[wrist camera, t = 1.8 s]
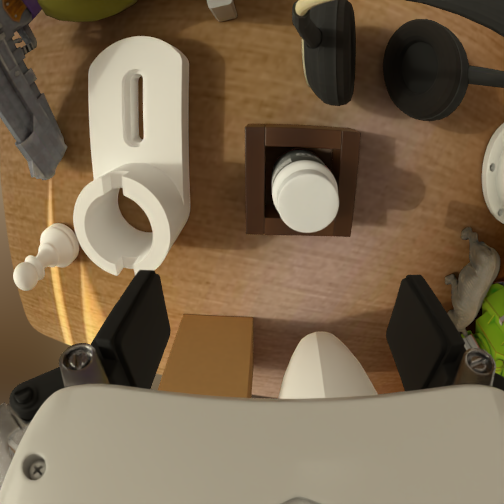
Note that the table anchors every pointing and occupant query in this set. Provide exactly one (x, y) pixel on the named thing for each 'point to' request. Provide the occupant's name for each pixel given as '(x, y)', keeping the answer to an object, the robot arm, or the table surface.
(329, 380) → the cup
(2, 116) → the handgun
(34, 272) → the chess pawn
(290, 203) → the pill bottle
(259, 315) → the table surface
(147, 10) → the table surface
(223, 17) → the grey angled piece
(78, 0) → the apple
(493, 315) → the lime green boxy piece
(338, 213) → the holder
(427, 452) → the robot arm
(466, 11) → the headphones
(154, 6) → the table surface
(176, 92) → the bracket
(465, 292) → the rhino figurine
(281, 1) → the table surface
